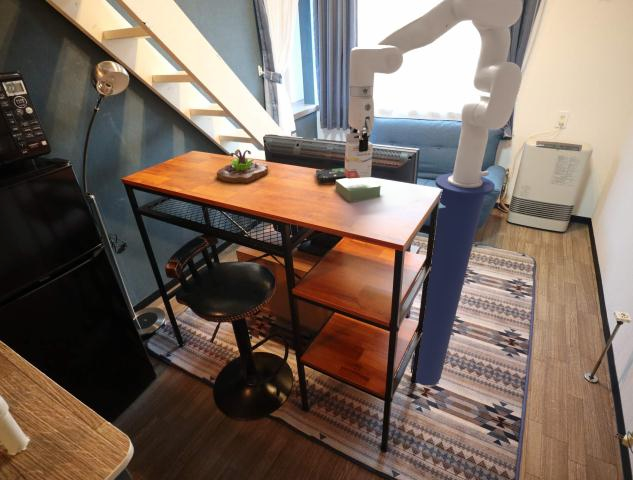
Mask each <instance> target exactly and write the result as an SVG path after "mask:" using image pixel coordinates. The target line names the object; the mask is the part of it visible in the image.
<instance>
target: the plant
mask: <svg viewBox="0 0 633 480" xmlns="http://www.w3.org/2000/svg"><path fill="white" fill-rule="evenodd" d="M246 153H247V154H248V155H251V154H252V152H251V151H250V150H248V149H245V151H244V152H243V154H242V152H241V150H240V149H235V151H234V152H231V153H230V154H229V156H230V157H234V156H236V158H235V159H230V160H229V161H230V162H231V163H230V164H227V165H224V166H222V167H221V168H219V169H218V170H217V172H216V177H217V179H220V180H221V181H222V182H226V183H232V184H237V183H242V184H249V183H252V182H254V181H256V180H258V179H260V178H261V177H265V176H266V175H267V174H268V172H269V171H268V170H269V169H268V168H269V167H268V165H267V164H266V163H260V162H257V161H254V159H251V160H249V158H248V157H246Z"/></svg>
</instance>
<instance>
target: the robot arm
mask: <svg viewBox="0 0 633 480" xmlns="http://www.w3.org/2000/svg"><path fill="white" fill-rule="evenodd" d="M522 13H523V0H438V1H437V2H436V3H434V4H433V5H431V6H430V7H429V8H427V9H426V10H425V11H424V12H422V13H421V14H420V15H418V16H417V17H415V18H413V19H412V20H410V21H408V22H407V23H406V24H404V25H402V26H401V27H399V28H398V29H396V30H394V31H392V32H391V33H390V34H388V35H386V36H385V37H384V38H383V39H382V40H380V41H378V42H377V43H376V44H375V45H373V46H371V47H370V46H364V47H363V46H359V47H358V46H357V47H353V48H352V49H351V50H350V53H349V86H348V87H349V89H348V98H349V101H348V102H349V103H348V114H347V115H348V117H347V119H348V120H347V123H348V126H349V133H360V136H358V135H357V136H355V137H354V138H360V139H361V140H359V152H365V151H368V140H370V137H371V135H372V133H373V130H374V127H375V103H374V85H375V84H374V82H375V74H385V75H390V74H394V73H396V72H397V71H398V70H400V68H401V67H402V65H403V64H404V63H403V62H404V54H407V53H409V52H411V51H414V50H416V49H420V48H423V47H426V46H428V45H431V44H433V43H434V42H435V41H437V40H438V39H439V38H440V37H442V36H444V34H446V33H447V32H449V31H450V30H452V29H453V28H454V27H455V26H457V25H458V24H459V23H461V22H464V21H465V22H466V21H471V23H472V25H473V26H474V28H475V29H476V30H477V32H478V33H479V37H480V42H481V44H480V51H479V56H478V61H477V64H476V68H475V72H474V75H473V76H474V77H473V86H474V88H475V89H476V90H478V91H480V92H483V93H488V94H489V96H486V95H474V96H471V97H470V98H468V99H467V100H466V101H465V102H464V104H463V106H462V109H461V116H460V117H461V120H460V121H461V123H460V125H461V128H460V135H459V140H458V147H457V151H456V158H455V162H454V167H453V172H452V173H453V175H452V176H450V177H449V178H448V182H449V183H450V184H451V185H454V186H457V187H461V188H477V187H480V186H481V185H482V180H481V177H487V176H489V175H490V172H489V170H484V171H482V167H483V163H484V159H485V154H486V149H487V144H488V141H489V130H491V131H496V130H501V129H502V128H504V127H505V126H506V125H507V123H508V122H509V120H510V119H511V117H512V114H513V112H514V108H515V104H516V101H517V98H518V95H519V92H520V89H521V86H522V85H521V84H522V80H523V79H522V78H523V77H522V76H523V75H522V74H523V73H522V69H521V67H520V66H519V64H517V63H515V62H512V61H508V57H509V53H510V48H511V41H512V40H511V39H512V37H511V32H510V28H511V27H512V26H513V25H515V24H516V23H517V21H519V19H520V17H521V16H522ZM363 133H364V135H363Z"/></svg>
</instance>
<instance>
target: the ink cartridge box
mask: <svg viewBox="0 0 633 480" xmlns="http://www.w3.org/2000/svg"><path fill="white" fill-rule="evenodd" d="M364 133H365V132H363V135H364ZM357 135H358V136H359V138H354V137H355V136H357ZM359 140H361V139H360V132H359V133H350V132H349V133H348V132H347V133H346V136H345V151H344V168H345V175H346V177H347V178H348V179H353V178H367V177H368V178H371V177H372V167H373V165H372V163H373V152H374V151H373V149H374V144H373V143H372V142H371V141H369V140H370V139H369V140H368V151H365V152H359Z"/></svg>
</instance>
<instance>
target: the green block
mask: <svg viewBox="0 0 633 480" xmlns="http://www.w3.org/2000/svg"><path fill="white" fill-rule="evenodd" d="M381 187H382V186H381V185H380V184H378V183H377V182H375V181H374V180H372V179H371V178H370V177H367V178H353V179H348V178H345V179H339V180H336V183H335V191H336V192H337V193H338V194H339V195H341V196H342V197H343V198H344V199H345V200H347V201H348V202H349V203H352V202H358V201H362V200H368V199H374V198H379V197H380V196H381Z"/></svg>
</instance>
